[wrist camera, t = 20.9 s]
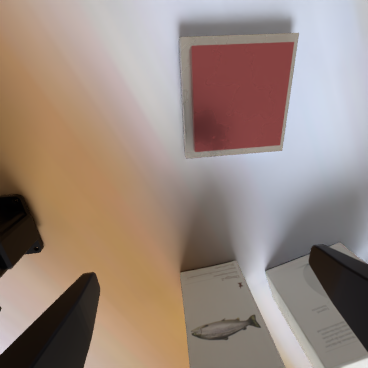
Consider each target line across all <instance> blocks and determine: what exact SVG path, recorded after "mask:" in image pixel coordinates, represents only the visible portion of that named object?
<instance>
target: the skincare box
mask: <svg viewBox="0 0 368 368" xmlns="http://www.w3.org/2000/svg"><path fill="white" fill-rule="evenodd" d="M329 247H331V248H333V249H335V250H337V251H339V252H342V253H344V254H346V255H348V256H351V257H353V258H355V259H357V260H359V261H362V262H364V261H363V260H361V259H360V258H359V257H357V256H356V255H355V254H354V253H352V252H351V251H350V250H349V249H348V248H346V247H345V246H344V245H343V244H342V243H340V242H339V243H336V244H334V245H331V246H329ZM309 255H310V254H308V255H306V256H303V257H300V258H298V259H295V260H293V261H290V262H288V263H285V264H283V265H280V266H277V267H275V268H272V269H269V270H267V271H266V272H265V273H266V276H267V280H268V283H269V287H270V290H271V293H272V297H273V299H274V301H275V303H276V304H277V306H278V308H279V310H280V311H281V313H282V315H283V317H284V318H285V320H286V322H287V324H288V325H289V327H290V329H291V330H292V332H293V334H294V336H295V337H296V339H297V341H298V343H299V344H300V346H301V348H302V349H303V351H304V353H305V355H306V356H307V358H308V360H309V362H310V363H311V365H312V367H313V368H368V352H367V351H366V349H365V348H364V347H363V345H362V344H361V342H360V341H359V340H358V338H357V337H356V335H355V334H354V333H353V331H352V330H351V328H350V327H349V326H348V324H347V323H346V321H345V320H344V319H343V317H342V316H341V315H340V313H339V312H338V310H337V309H336V308H335V306H334V305H333V303H332V302H331V300H330V299H329V297H328V295H327V294H326V292H325V290H324V289H323V287H322V285H321V284H320V282H319V280H318V279H317V277H316V275H315V274H314V272H313V270H312V269H311V267H310V265H309V261H308V260H309ZM364 263H365V262H364Z"/></svg>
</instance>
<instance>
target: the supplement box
mask: <svg viewBox="0 0 368 368" xmlns="http://www.w3.org/2000/svg"><path fill="white" fill-rule="evenodd" d="M180 279H181V288H182V297H183V306H184V314H185V323H186V333H187V343H188V354H189V364H190V368H285V365H284V363H283V361H282V359H281V357H280V354H279V352H278V350H277V348H276V346H275V343H274V341H273V339H272V337H271V335H270V332H269V330H268V328H267V326H266V324H265V322H264V319H263V317H262V315H261V313H260V311H259V309H258V307H257V304H256V302H255V300H254V298H253V296H252V293H251V291H250V289H249V287H248V285H247V282H246V280H245V278H244V276H243V274H242V272H241V269H240V267H239V265H238V263H237V261H232V262H229V263H224V264H220V265H216V266H211V267H206V268H201V269H197V270H191V271H186V272H181V273H180Z"/></svg>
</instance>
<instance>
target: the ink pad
mask: <svg viewBox="0 0 368 368" xmlns="http://www.w3.org/2000/svg"><path fill="white" fill-rule="evenodd" d="M298 36H299V33H281V34H252V35H222V36H193V37H180V39H179V53H180V71H181V90H182V108H183V127H184V145H185V157H186V159H188V158H200V157H212V156H224V155H236V154H248V153H260V152H272V151H282V148H283V141H284V134H285V127H286V120H287V113H288V106H289V99H290V92H291V85H292V78H293V71H294V64H295V57H296V50H297V43H298Z"/></svg>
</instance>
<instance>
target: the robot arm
mask: <svg viewBox="0 0 368 368" xmlns="http://www.w3.org/2000/svg"><path fill="white" fill-rule="evenodd" d="M15 199H17V200H18V201H16V200H15ZM36 247H38V248H36ZM43 248H44V246H43V244H42V241H41V239H40V236H39V233H38V231H37V229H36V226H35V224H34V222H33V219H32V217H31V215H30V213H29V210H28V208H27V205H26V203H25V201H24V198H23V197H22V196H21V195H18V194H13V195H2V196H0V278H1V277H2V275H3V274H4V273H5V272H6V271H7V270H8V269H11V268H13V267H14V265H15V264H16V263H17V262H18V261H19V260H20V259H21V258H22V256H23V255H24V254H32V253H39V252H41V251H42V249H43ZM308 261H309V265H310V267H311V269H312V270H313V272H314V274H315V275H316V277H317V279H318V280H319V282H320V284H321V285H322V287H323V289H324V290H325V292H326V294H327V295H328V297H329V299H330V300H331V302H332V303H333V305H334V306H335V308H336V309H337V310H338V312H339V313H340V315H341V316H342V317H343V319H344V320H345V321H346V323H347V324H348V326H349V327H350V328H351V330H352V331H353V333H354V334H355V335H356V337H357V338H358V340H359V341H360V342H361V344H362V345H363V347H364V348H365V349H366V351H367V352H368V264H366V263H364V262H362V261H359V260H357V259H355V258H353V257H351V256H348V255H346V254H344V253H342V252H339V251H337V250H335V249H333V248H331V247H328V246H326V245H323V244H319V245H313V246H312V248H311V251H310V255H309V260H308ZM99 296H100V286H99V283H98V279H97V276H96V274H95V273H94V272H91V273H84V274H82V275H81V276H80V277H79V278H78V279H77V280H76V281H75V282H74V283H73V284H72V285H71V286H70V287H69V288H68V289H67V290H66V291H65V292H64V293H63V294H62V295H61V296H60V297H59V298H58V299H57V300H56V301H55V302H54V303H53V304H52V305H51V306H50V307H49V308H48V309H47V310H46V311H45V312H44V313H43V314H42V315H41V316H40V317H39V318H37V319H36V320H35V321H34V322H33V323H32V324H31V325H30V326H29V327H28V328H27V329H26V330H25V331H24V332H23V333H22V334H21V335H20V336H19V337H18V338H17V339H16V340H15V341H14V342H13V343H12V344H11V345H10V346H9V347H8V348H7V349H6V350H5V351H4V352H3V353H2V354H1V355H0V368H84V364H85V360H86V357H87V353H88V350H89V346H90V342H91V338H92V334H93V329H94V323H95V318H96V312H97V307H98V301H99ZM0 311H1V307H0Z"/></svg>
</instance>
